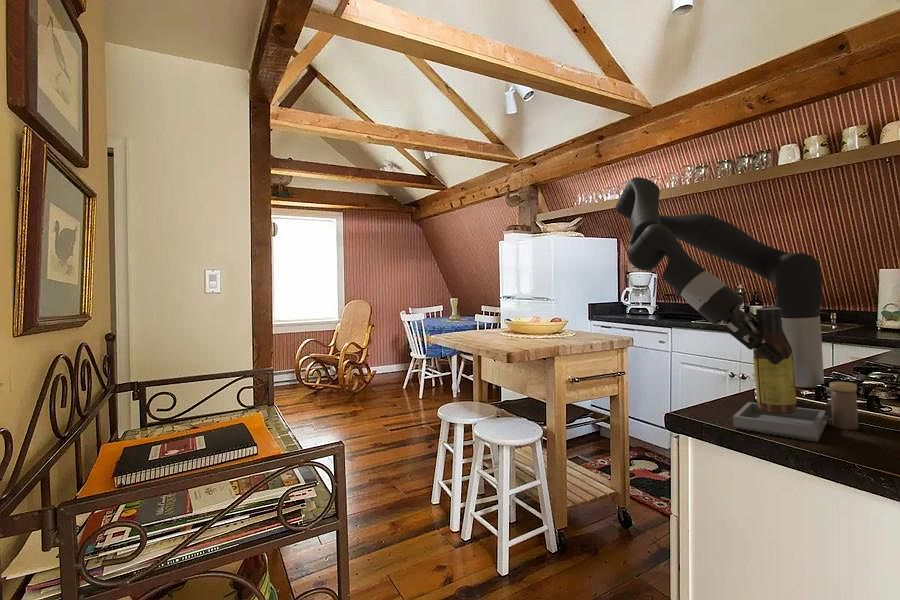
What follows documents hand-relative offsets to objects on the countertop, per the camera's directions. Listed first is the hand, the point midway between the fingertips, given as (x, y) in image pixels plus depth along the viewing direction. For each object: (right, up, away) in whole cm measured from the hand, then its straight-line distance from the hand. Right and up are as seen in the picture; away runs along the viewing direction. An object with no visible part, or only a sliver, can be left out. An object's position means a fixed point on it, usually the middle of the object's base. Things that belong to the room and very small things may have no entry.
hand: (783, 357), depth 84 cm
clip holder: (+9, -12, +7) cm, 17 cm away
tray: (0, -13, +1) cm, 13 cm away
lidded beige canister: (+10, -13, -1) cm, 16 cm away
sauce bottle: (0, -11, +2) cm, 11 cm away
